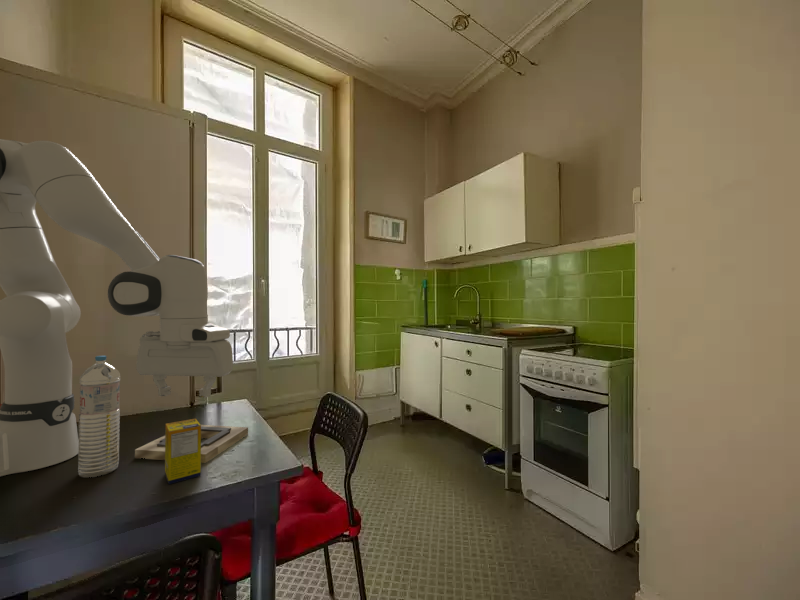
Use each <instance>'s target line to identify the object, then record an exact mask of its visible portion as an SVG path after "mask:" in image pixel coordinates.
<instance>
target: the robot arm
mask: <svg viewBox="0 0 800 600" xmlns="http://www.w3.org/2000/svg"><path fill="white" fill-rule="evenodd" d="M37 203H38V204H39V206H40V207H41V209H42V210H43V212H44V213H45V214H46V215H47V216H48V217H49V218H50V219H51V220H52V221H53V222H55V224H57V225H58V226H59V227H61V228H62V229H64V230H65V231H68V232H70V233H72V234H75V235H78V236H80V237H83V238H85V239H86V240H90V241H92V242H95V243H97V244H100V245H101V246H104V247H105V248H106V249H109V250H110V251H112V252H113V253H115V254H116V255H117V256H118V257H119V258H120V259H121V260H122V261H123V262H124V263H125V265H126V266H127V267H128V268H129V269H130V270H129V271H123V272H120V273H118V274H117V275H116V276H115V277H113V278H112V280H111V281H110V282H109V285H108V288H107V299H108V303H109V304H110V306H111V307H112V308H113V310H114V311H116V312H117V313H119V314H121V315H124V316H127V317H128V316H129V317H137V318H138V317H156V316H159V330H157V331H153V330H151V331H150V330H149V331H146V332H145V333H144V334H142V335H141V336H140V338H139V346H138V351H137V355H136V364H135V366H136V367H135V368H136V371H137V373H138V375H141V376H152V379H153V383H154V384H155V386H156V388H157V390H158V396H159V397H167V396H170V395H171V389H172V388H171V387H172V386H169V385H167V382H166V380H165V379H167V376H170V377H171V376H173V377H174V376H178V377H203V382H205V384H204V385H203V387H202V388H199V389H198V394H199V395H198V397H199V398H209V397H211V394H212V387H213V385H214V383H216V380H217V378H218V377H219V378H221V377H225V376H228V375H230V373H231V372H232V370H233V368H234V357H233V348H232V344H231V342H230V341H228V340H227V339H230V336H231V331H230V329H228V328H226V327H223V326H220V325H217V324H214V323H212V322H210V321H208V320H209V315H208V312H207V307H206V306H207V301H208V296H209V295H208V294H209V293H208V277H207V271H206V266H205V265H204V264H203V262H201V261H200V260H198V259H194V258H191V257H187V256H183V255H182V256H181V255H177V254H166V255H164V256H162V257H161V258H160V257H159V255H157V253H156V252H155V250H153V248H152V247H151V246H150V244H149V243H148V242H147V241H146V240H145V239H144V237H142V235H141V234H140V233H139V232H138V231H137V230H136V229H135V228H134V226H133V225H132V224H131V223H130V222H129V221H128V219H127V218H126V217H125V216H124V215H123V213H122V212H121V211H120V210H119V209H118V207H117V206H116V205H115V204H114V202H113V201H112V199H111V198H110V197H109V195H108V194H107V193H106V191H105V190H104V189H103V187H102V185H101V184H100V182H98V180H97V179H96V177H95V176H94V175H93V174H92V173H91V171H90V170H89V169H88V168H87V166H85V164H84V163H83V162H82V161H81V160H80V159H79V158H78V157H77V156H76V155H75V154H74V153H73V152H72V151H71V150H69V148H68V147H66V146H64V145H62V144H60V143H57V142H54V141H50V140H35V141H30V142H28V143H26V142H23V141H20V140H19V141H17V140H14V139H3V138H0V288H1V290H2V291H3V292H4V295H6V296H5V297H3V298H2V299H0V353H1V356H2V360H3V366H4V402H2V403H0V477H3V476H6V475H11V474H18V473H25V472H28V471H29V472H30V471H34V470H38V469H43V468H46V467H49V466H53V465H57V464H59V463H63V462H64V461H68V460H70V459H73V457H75V456H77V455H78V449H79V448H78V445H79V443H78V442H79V433H78V426H77V425H78V424H77V418H76V414H75V413H74V412H73V410H74V409H75V402H76V399H75V394H74V393H73V360H72V358H71V356H70V352H69V351H70V350H69V348H68V342H67V341H68V340H67V335H66V333H69V332H70V331H71V330H73V329H74V328H75V327H76V326H77V325H78V323H79V321H80V319H81V315H82V312H81V308H80V305H79V304H78V303H77V301H76V298H75V297H74V294H73V293H72V290H71V289H70V287H69V285H68V283H67V281H66V280H65V277H64V276H63V274H62V272H61V271H60V269H59V267H58V265H57V262H56V261H55V258H54V256H53V253H52V251H51V248H50V245H49V242H48V239H47V237H46V234H45V232H44V229H43V227H42V224H41V222H40V220H39V217H38V214H37V211H36V204H37Z"/></svg>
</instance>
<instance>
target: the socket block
mask: <svg viewBox="0 0 800 600" xmlns="http://www.w3.org/2000/svg"><path fill="white" fill-rule="evenodd" d="M200 425H201V439H203V438H205V440H204V441H201V464H206V463H208V462H209V461H211V460H212V459H214V458H215V457H217V456H218V455H219V454H220V455H221V453H222V452H224V451H226V450H227V449H229V448H230V447H232V446H234V445H235V444H236V443H238V442H240V441H241V440H242V439H244V438H245V437H247V436H248V435H249V427H248V426H247V427H246V426H232V425H231V426H229V425H228V426H227V425H214V424H213V425H212V424H211V425H209V424H200ZM246 435H247V436H246ZM243 437H244V438H243ZM206 438H207V439H206ZM240 439H241V440H240ZM141 458H143V460H161V461H165V435H163V436H161V437H159V438H157V439H154V440H152V441H150V442H147V443H146V444H144V445H142V446H139V447H138V448H135V449H134V459H141ZM144 458H145V459H144Z"/></svg>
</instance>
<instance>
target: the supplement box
mask: <svg viewBox="0 0 800 600" xmlns="http://www.w3.org/2000/svg"><path fill="white" fill-rule="evenodd" d="M201 425H202V424H201V423H200V422H199V421H198V420H197V418H192V419H186V420H181V421H174V422H169V423H165V429H164V430H165V432H164V433H165V434H164V436H165V460H164V476H165V478H166V480H167V484H168V485H172V484H175V483H179V482H182V481H185V480H190V479H194V478H197V477H201V475H202V474H201V473H202V463H201V443H202V438H201Z"/></svg>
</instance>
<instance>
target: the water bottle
mask: <svg viewBox="0 0 800 600" xmlns="http://www.w3.org/2000/svg"><path fill="white" fill-rule="evenodd" d="M107 358H108V357H107V355H96V356H95V357H94V359H95V360H94V361H95V363H94V364H92V365H91V366H88V368H86V369H85V371H84V372H83V373H82V374H81V375H80V376H79V385H80V388H79V389H80V390H79V396H80V397H79V414H78V440H79V442H78V443H79V445H78V448H79V449H78V454H77V455H78V458H77V466H78V467H77V470H78V471H77V472H78V475H79V477H81V478H84V479H86V478H88V479H89V477H90V478H91V477H92V478H97V476H98V477H101V475H102V476H104V475H108V474H109V473H112V472H113V471H116V469H118V467H119V463H120V424H121V423H120V419H121V416H120V414H121V413H120V412H121V408H120V384H121V383H120V382H121V373H120V371H119V370H118V369H117V368H116V367H115V366H113V365H112V364H109V363H108V362H106V361H107Z"/></svg>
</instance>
